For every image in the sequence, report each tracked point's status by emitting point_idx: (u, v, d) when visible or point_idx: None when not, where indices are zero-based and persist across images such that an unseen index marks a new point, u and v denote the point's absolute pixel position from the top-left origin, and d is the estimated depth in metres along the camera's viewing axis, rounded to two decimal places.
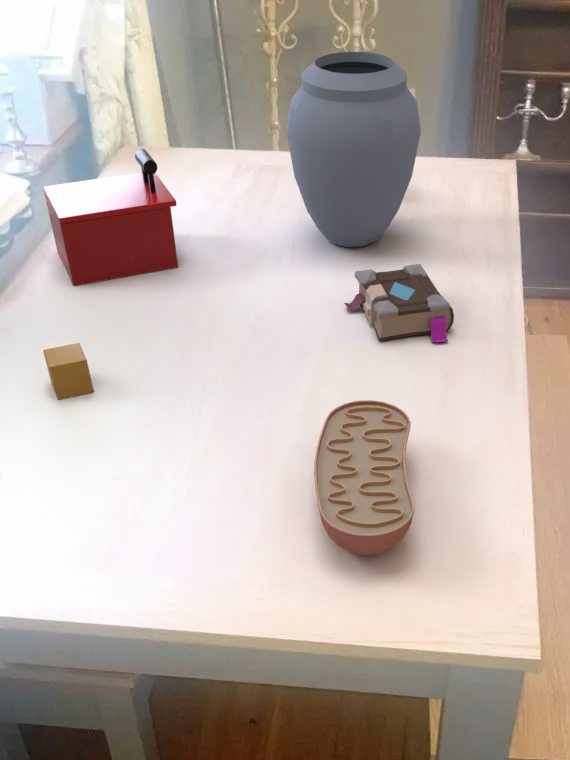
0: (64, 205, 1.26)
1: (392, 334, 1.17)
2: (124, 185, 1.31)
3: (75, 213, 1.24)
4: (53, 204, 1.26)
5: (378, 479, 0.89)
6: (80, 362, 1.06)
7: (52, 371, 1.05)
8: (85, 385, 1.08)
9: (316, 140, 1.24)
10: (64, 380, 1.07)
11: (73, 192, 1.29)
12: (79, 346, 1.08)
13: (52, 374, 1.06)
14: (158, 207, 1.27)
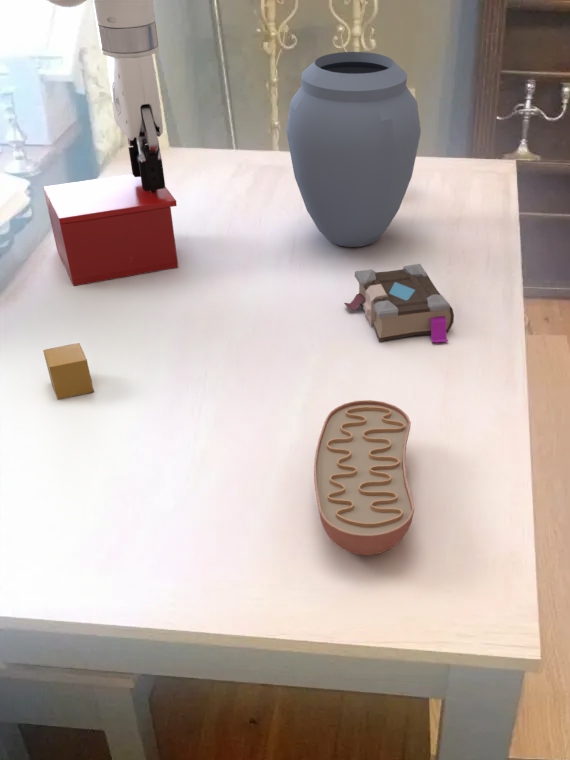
0: (64, 205, 1.26)
1: (392, 334, 1.17)
2: (124, 185, 1.31)
3: (75, 213, 1.24)
4: (53, 204, 1.26)
5: (378, 479, 0.89)
6: (80, 362, 1.06)
7: (52, 371, 1.05)
8: (85, 385, 1.08)
9: (316, 140, 1.24)
10: (64, 380, 1.07)
11: (73, 192, 1.29)
12: (79, 346, 1.08)
13: (52, 374, 1.06)
14: (158, 207, 1.27)
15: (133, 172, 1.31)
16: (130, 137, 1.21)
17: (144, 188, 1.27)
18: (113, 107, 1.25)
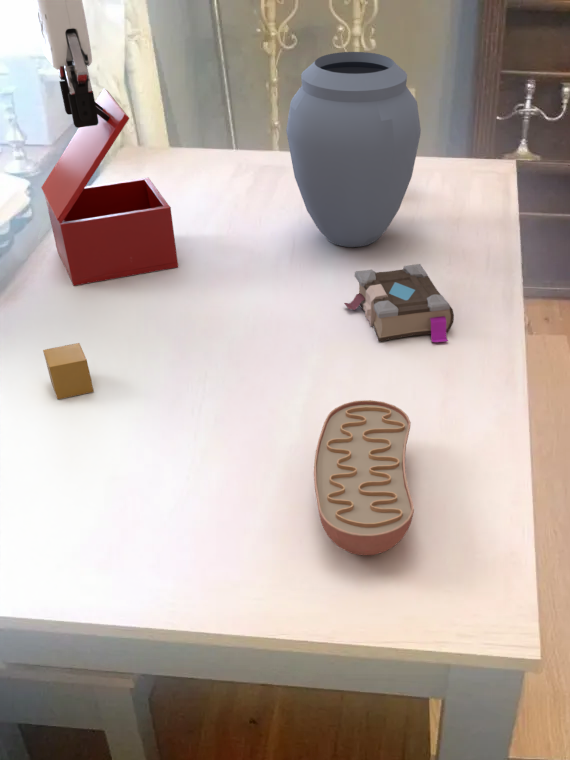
0: (57, 198, 1.25)
1: (392, 334, 1.17)
2: (88, 130, 1.24)
3: (65, 202, 1.22)
4: (50, 204, 1.26)
5: (378, 479, 0.89)
6: (80, 362, 1.06)
7: (52, 371, 1.05)
8: (85, 385, 1.08)
9: (316, 140, 1.24)
10: (64, 380, 1.07)
11: (59, 176, 1.27)
12: (79, 346, 1.08)
13: (52, 374, 1.06)
14: (117, 134, 1.18)
15: (66, 109, 1.22)
16: (56, 66, 1.12)
17: (75, 124, 1.19)
18: None
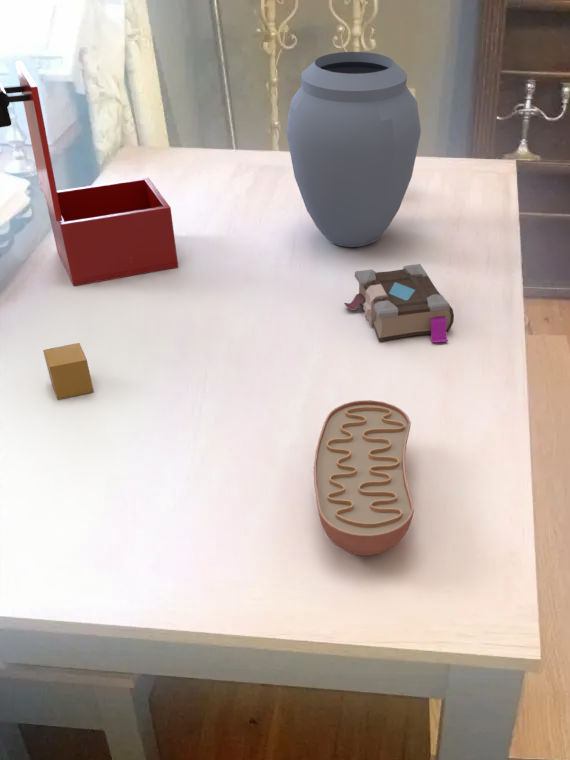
0: (48, 198, 1.24)
1: (392, 334, 1.17)
2: (29, 115, 1.20)
3: (51, 200, 1.21)
4: (49, 206, 1.26)
5: (378, 479, 0.89)
6: (80, 362, 1.06)
7: (52, 371, 1.05)
8: (85, 385, 1.08)
9: (316, 140, 1.24)
10: (64, 380, 1.07)
11: (40, 173, 1.26)
12: (79, 346, 1.08)
13: (52, 374, 1.06)
14: (40, 110, 1.13)
15: None
16: None
17: None
18: None
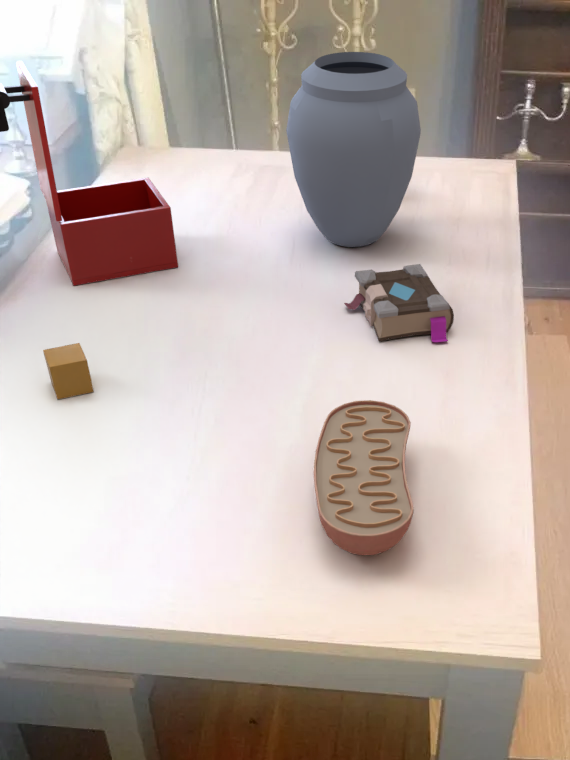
0: (48, 198, 1.24)
1: (392, 334, 1.17)
2: (29, 115, 1.20)
3: (51, 200, 1.21)
4: (49, 206, 1.26)
5: (377, 479, 0.89)
6: (80, 362, 1.06)
7: (52, 371, 1.05)
8: (85, 385, 1.08)
9: (316, 140, 1.24)
10: (64, 380, 1.07)
11: (40, 173, 1.26)
12: (79, 346, 1.08)
13: (52, 374, 1.06)
14: (40, 110, 1.13)
15: None
16: None
17: None
18: None
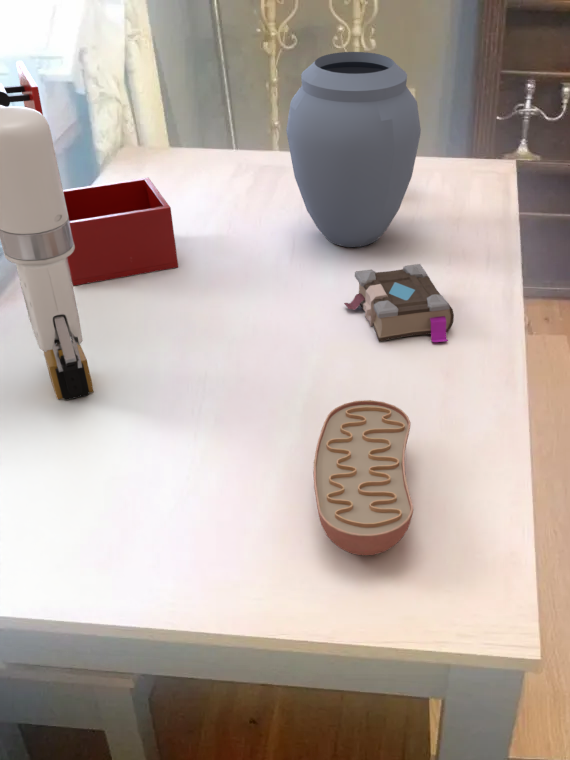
0: None
1: (392, 334, 1.17)
2: None
3: None
4: None
5: (377, 479, 0.89)
6: None
7: (52, 371, 1.05)
8: None
9: (316, 140, 1.24)
10: None
11: None
12: (79, 346, 1.08)
13: (52, 374, 1.06)
14: (40, 110, 1.13)
15: None
16: (42, 349, 1.01)
17: (64, 397, 1.07)
18: None
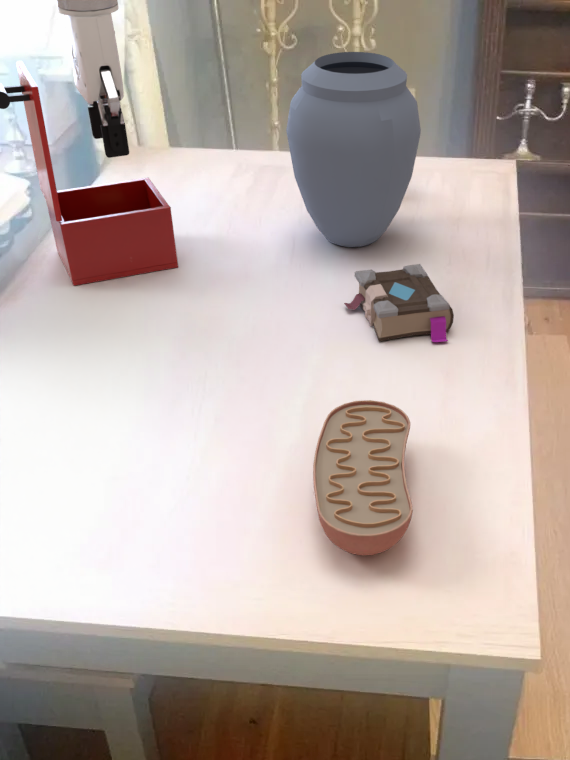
0: (48, 198, 1.24)
1: (392, 334, 1.17)
2: (29, 115, 1.20)
3: (51, 200, 1.21)
4: (49, 206, 1.26)
5: (377, 479, 0.89)
6: None
7: None
8: None
9: (316, 140, 1.24)
10: None
11: (40, 173, 1.26)
12: None
13: None
14: (40, 110, 1.13)
15: (93, 133, 1.27)
16: (89, 101, 1.16)
17: (107, 154, 1.21)
18: (73, 71, 1.20)
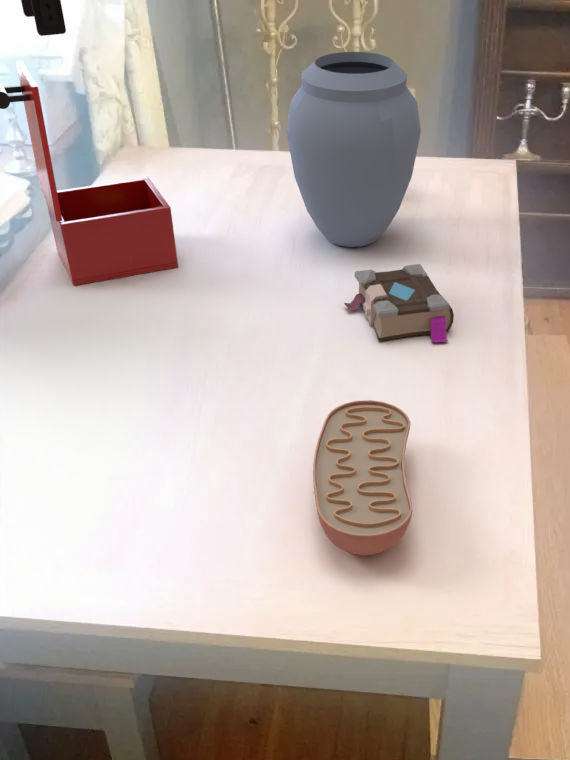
0: (48, 198, 1.24)
1: (392, 334, 1.17)
2: (29, 115, 1.20)
3: (51, 200, 1.21)
4: (49, 206, 1.26)
5: (377, 479, 0.89)
6: None
7: None
8: None
9: (316, 140, 1.24)
10: None
11: (40, 173, 1.26)
12: None
13: None
14: (40, 110, 1.13)
15: (24, 10, 1.09)
16: None
17: (39, 31, 1.03)
18: None
